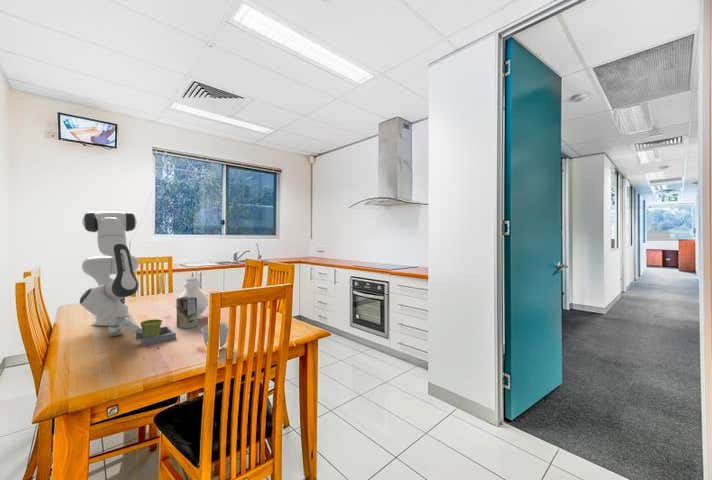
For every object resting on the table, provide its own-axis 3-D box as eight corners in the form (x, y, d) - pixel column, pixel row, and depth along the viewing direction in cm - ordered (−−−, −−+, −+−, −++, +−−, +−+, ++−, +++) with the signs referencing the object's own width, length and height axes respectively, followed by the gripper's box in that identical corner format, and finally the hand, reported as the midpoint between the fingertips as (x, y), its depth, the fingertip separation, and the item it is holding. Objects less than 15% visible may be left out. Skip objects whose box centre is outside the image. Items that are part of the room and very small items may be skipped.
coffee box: (197, 325, 176) (197, 297, 175) (187, 328, 170) (187, 299, 170) (186, 323, 179) (185, 296, 179) (175, 326, 174) (175, 298, 173)
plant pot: (135, 342, 148) (136, 324, 148) (144, 336, 157) (145, 319, 157) (156, 342, 150) (157, 324, 149) (165, 336, 159) (165, 319, 159)
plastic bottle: (115, 338, 155) (115, 298, 154) (104, 336, 156) (104, 297, 155) (127, 333, 161) (127, 295, 160) (116, 332, 162) (116, 295, 162)
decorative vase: (214, 316, 195) (214, 277, 194) (189, 324, 179) (189, 281, 178) (195, 313, 202) (194, 275, 201) (168, 320, 186) (168, 278, 185)
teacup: (219, 340, 152) (219, 320, 152) (234, 348, 143) (234, 327, 142) (193, 347, 143) (193, 326, 143) (208, 356, 133) (208, 333, 133)
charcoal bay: (136, 337, 156) (136, 331, 156) (168, 331, 166) (168, 325, 165) (141, 345, 145) (141, 339, 145) (175, 338, 154) (175, 332, 154)
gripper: (125, 314, 138) (151, 331, 145) (120, 306, 153) (143, 322, 160) (113, 326, 135) (140, 343, 142) (108, 316, 150) (133, 332, 157)
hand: (142, 332), depth 151 cm, fingers closed, pressing on plant pot
